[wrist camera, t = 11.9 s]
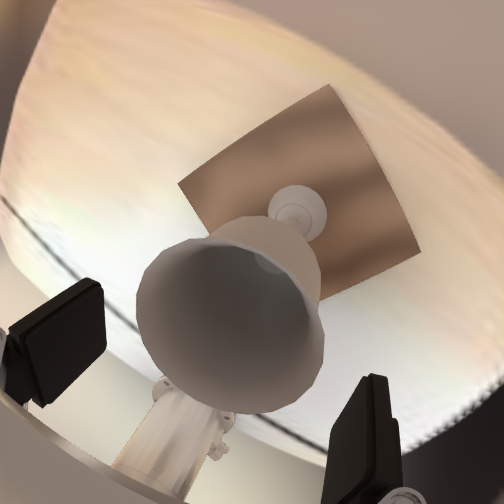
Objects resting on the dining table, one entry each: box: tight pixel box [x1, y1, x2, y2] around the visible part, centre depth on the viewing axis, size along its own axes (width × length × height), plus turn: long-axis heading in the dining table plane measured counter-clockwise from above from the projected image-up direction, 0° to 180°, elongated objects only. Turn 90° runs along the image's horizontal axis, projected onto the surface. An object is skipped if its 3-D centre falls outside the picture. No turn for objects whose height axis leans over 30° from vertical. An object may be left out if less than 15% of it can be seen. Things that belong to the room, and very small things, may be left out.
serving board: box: [177, 84, 421, 301], centre depth 28 cm, size 16×16×2 cm
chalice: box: [136, 185, 327, 415], centre depth 18 cm, size 7×7×18 cm
